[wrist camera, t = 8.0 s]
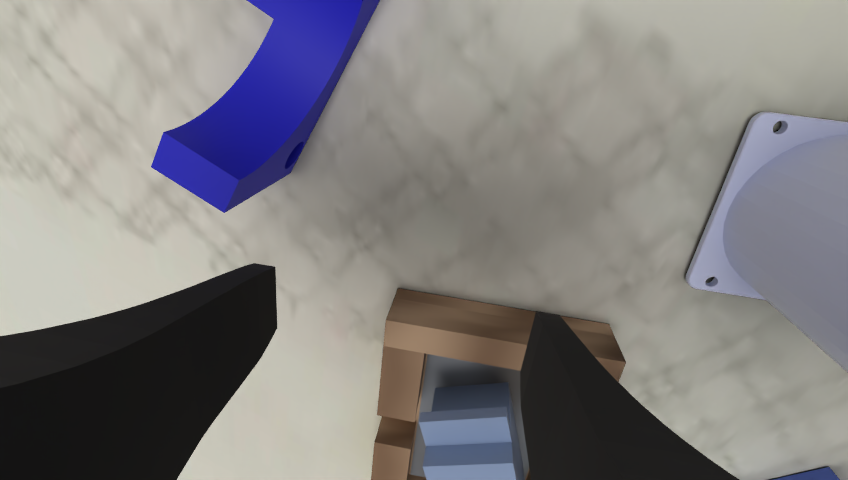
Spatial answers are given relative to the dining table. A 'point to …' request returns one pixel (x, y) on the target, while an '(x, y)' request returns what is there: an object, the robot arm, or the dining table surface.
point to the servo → (471, 434)
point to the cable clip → (266, 103)
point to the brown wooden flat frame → (455, 367)
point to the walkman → (813, 475)
